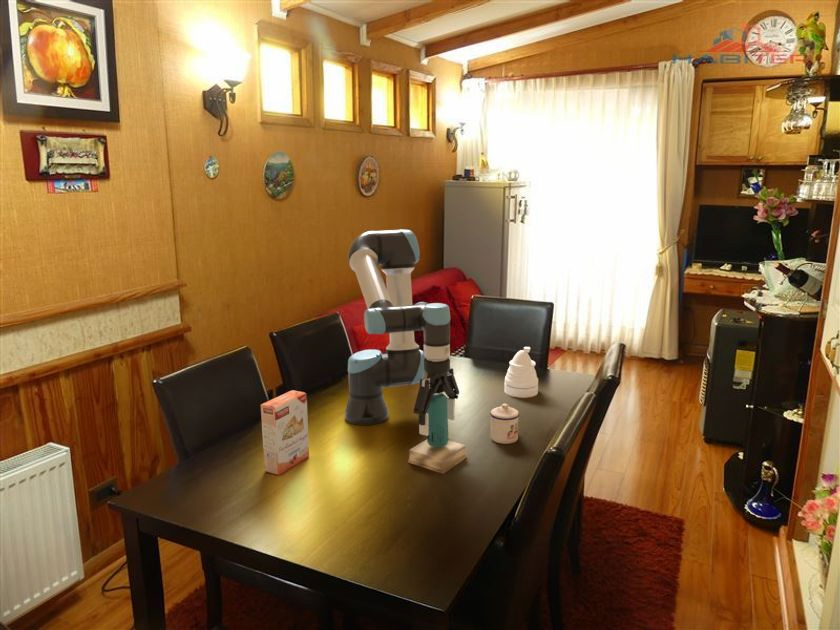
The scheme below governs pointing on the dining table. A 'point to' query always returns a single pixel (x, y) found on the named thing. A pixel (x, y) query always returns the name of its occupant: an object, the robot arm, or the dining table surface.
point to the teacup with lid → (504, 424)
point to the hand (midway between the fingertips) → (437, 426)
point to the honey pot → (521, 376)
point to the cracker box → (285, 431)
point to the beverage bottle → (438, 419)
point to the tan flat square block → (437, 456)
